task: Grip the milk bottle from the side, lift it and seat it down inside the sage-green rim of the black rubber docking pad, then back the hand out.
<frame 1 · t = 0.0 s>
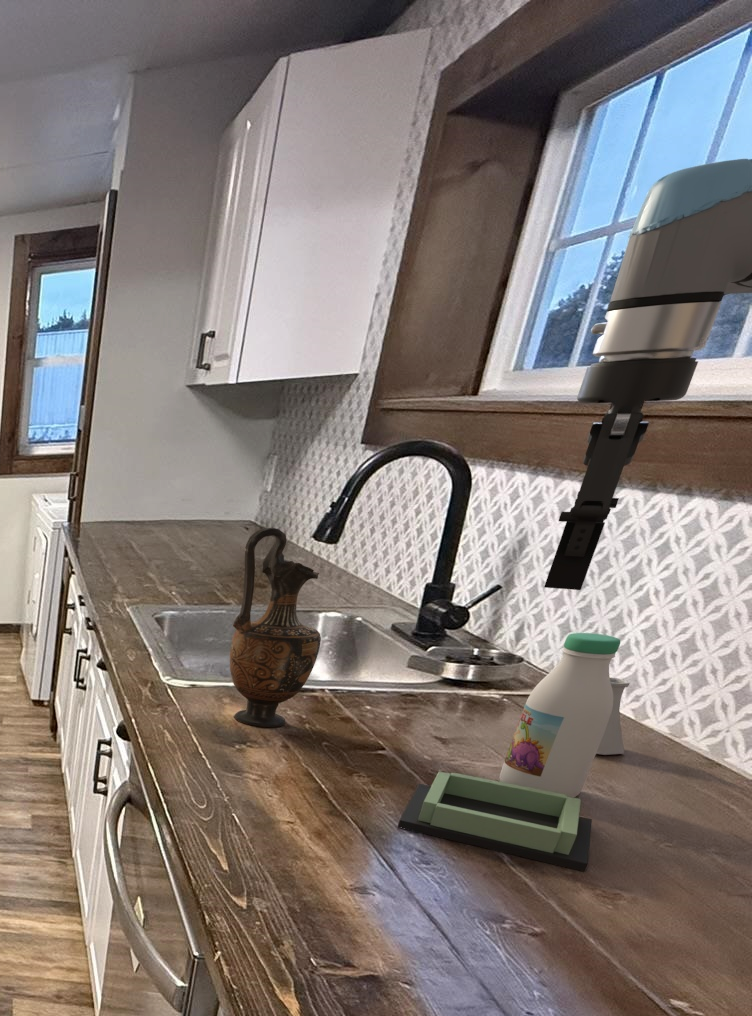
hand: (565, 578, 88), 29 cm above the worktop, tool pointing down, fingers open, 13 cm apart
milk bottle: (536, 789, 106), on the worktop
vase: (254, 720, 133), on the worktop
docking pad: (492, 827, 97), on the worktop
flask: (585, 748, 117), on the worktop
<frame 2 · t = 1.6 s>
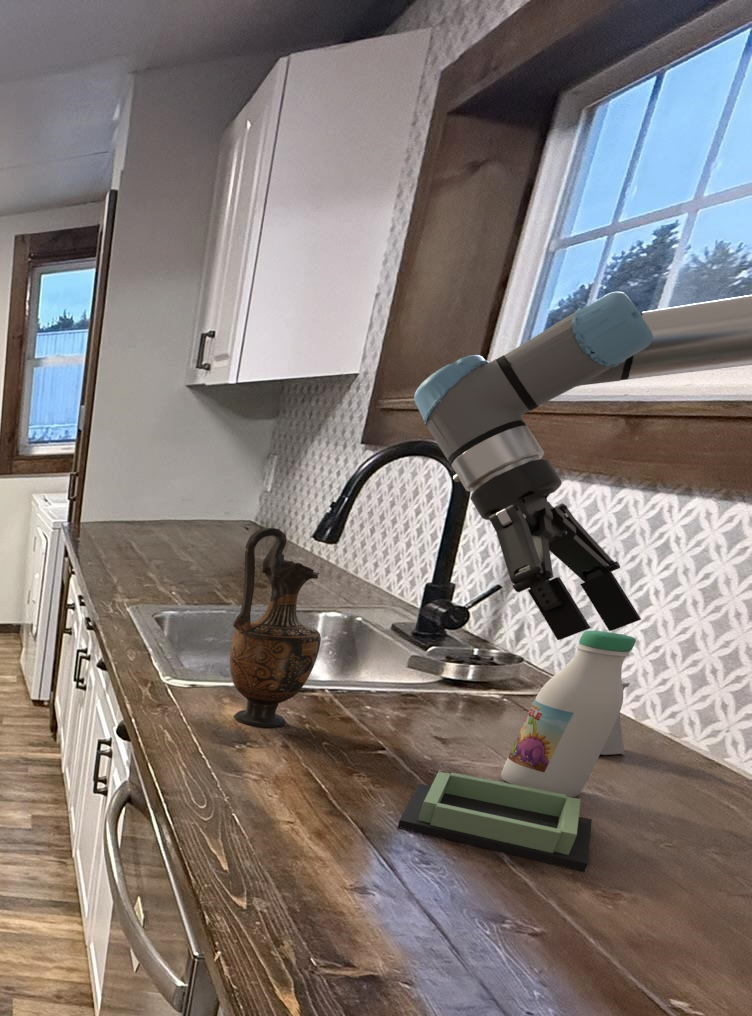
hand: (600, 630, 95), 22 cm above the worktop, tool tilted 40°, fingers open, 13 cm apart
milk bottle: (537, 787, 106), on the worktop, touching gripper
everything else where it was.
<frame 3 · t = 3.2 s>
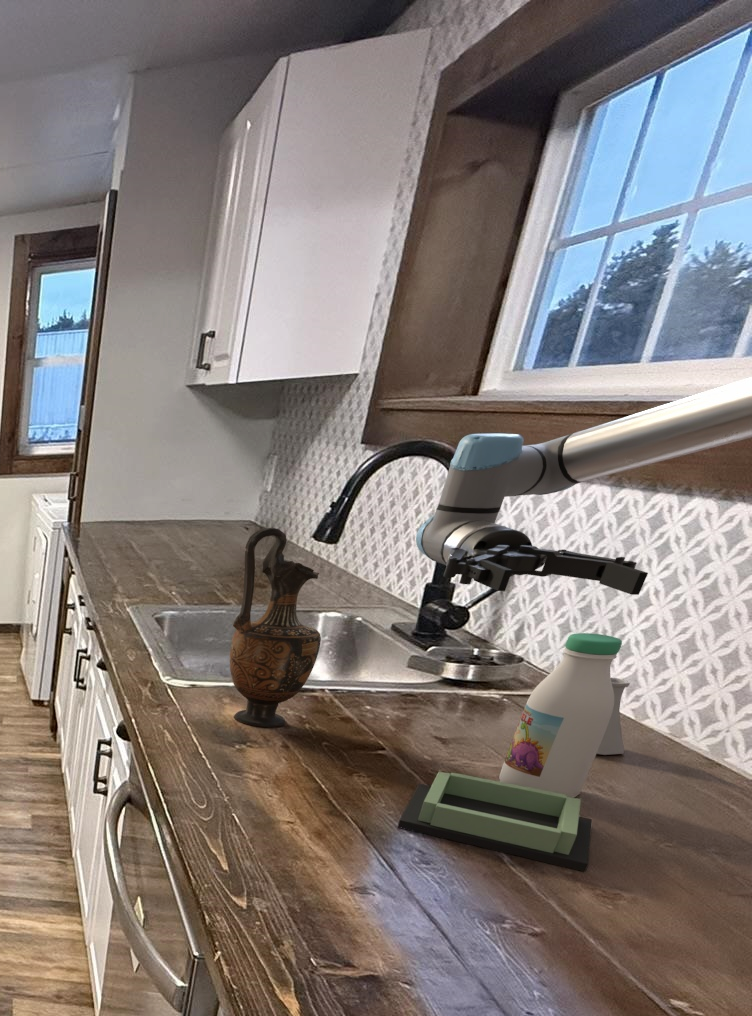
hand: (571, 582, 103), 25 cm above the worktop, tool horizontal, fingers open, 13 cm apart
milk bottle: (536, 789, 106), on the worktop
everything else where it was.
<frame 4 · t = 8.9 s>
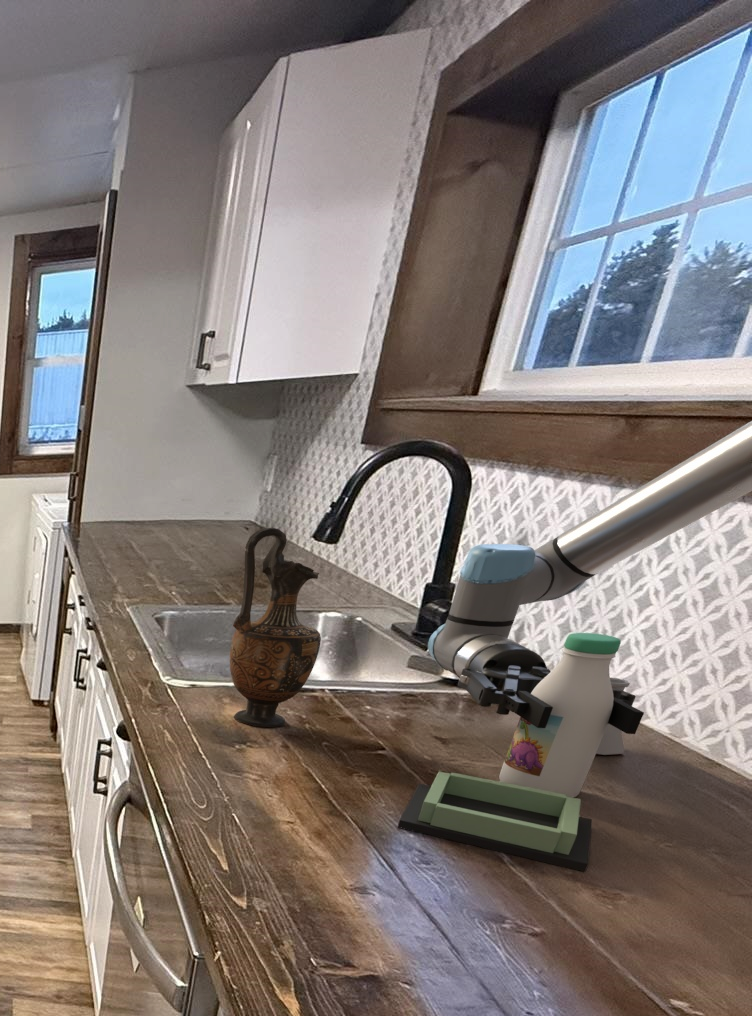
hand: (589, 720, 97), 11 cm above the worktop, tool horizontal, fingers closed on milk bottle, 8 cm apart
milk bottle: (536, 789, 106), on the worktop, touching gripper
everything else where it was.
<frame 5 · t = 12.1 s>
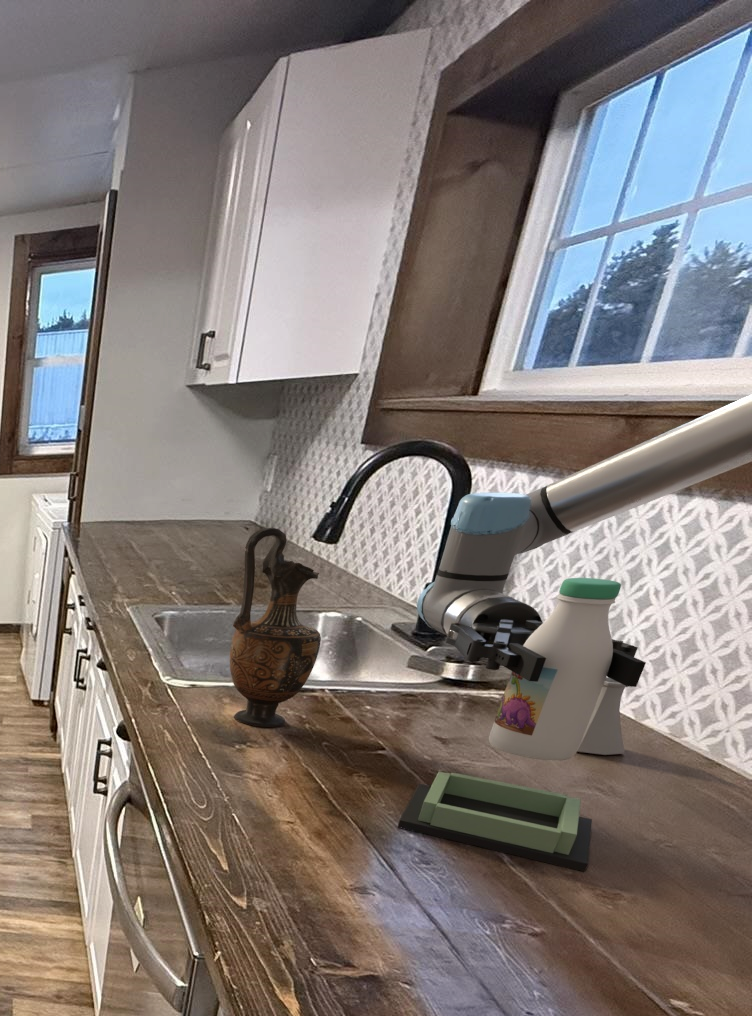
hand: (586, 672, 89), 19 cm above the worktop, tool horizontal, fingers closed on milk bottle, 8 cm apart
milk bottle: (529, 751, 98), point 8 cm above the worktop, touching gripper
everything else where it was.
when the fingers open (12 cm above the worktop, at t = 15.4 s): milk bottle stays where it is, resting on docking pad.
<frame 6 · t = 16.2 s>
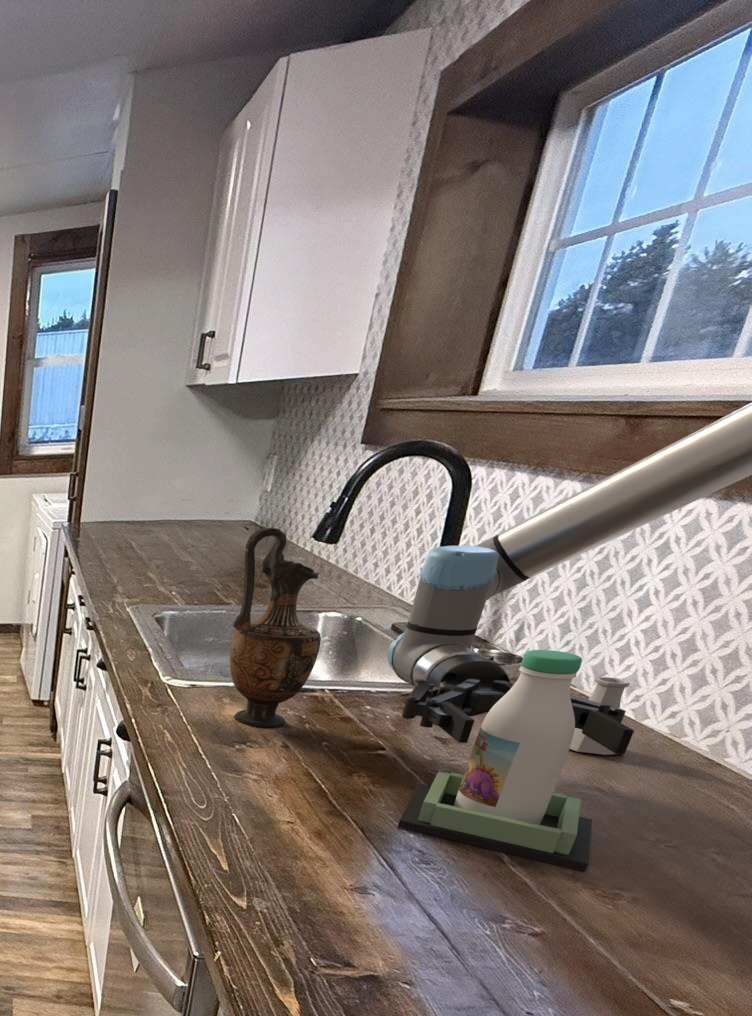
hand: (543, 736, 89), 13 cm above the worktop, tool horizontal, fingers open, 13 cm apart
milk bottle: (493, 820, 97), point 1 cm above the worktop, touching docking pad
everything else where it was.
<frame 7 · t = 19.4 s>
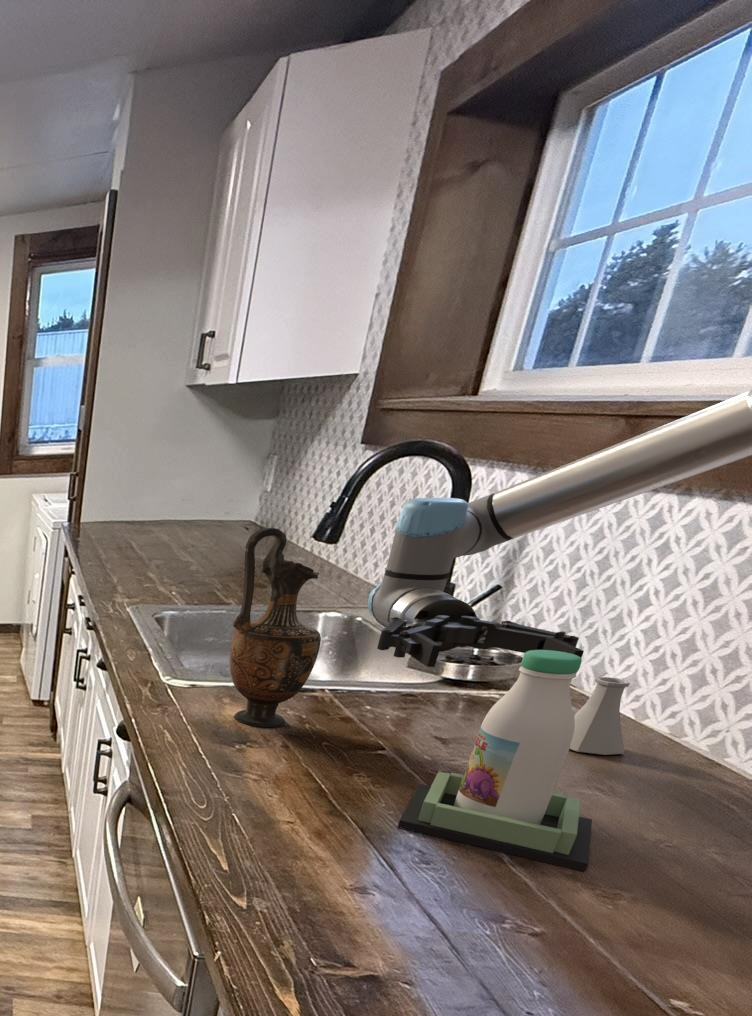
hand: (503, 659, 98), 18 cm above the worktop, tool horizontal, fingers open, 13 cm apart
nothing on the worktop moved.
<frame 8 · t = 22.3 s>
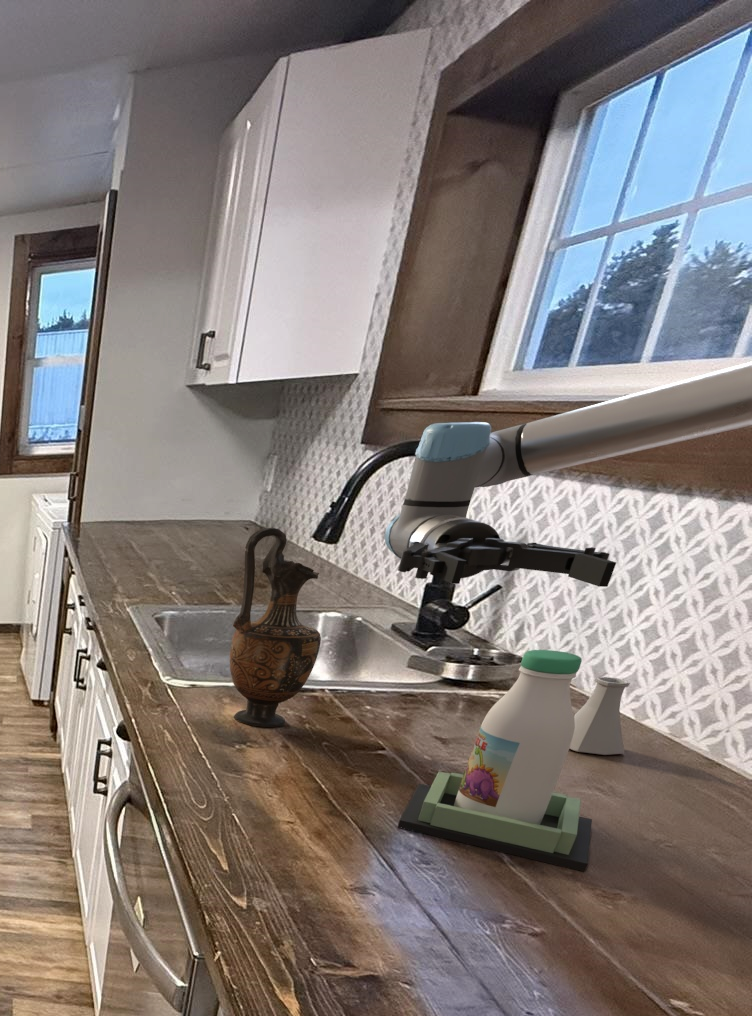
hand: (531, 573, 94), 28 cm above the worktop, tool horizontal, fingers open, 13 cm apart
nothing on the worktop moved.
at the end: milk bottle 0.1 cm off-centre on the docking pad, point 0.8 cm above the docking pad's base; milk bottle tilted 0°; the gripper is holding nothing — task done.
